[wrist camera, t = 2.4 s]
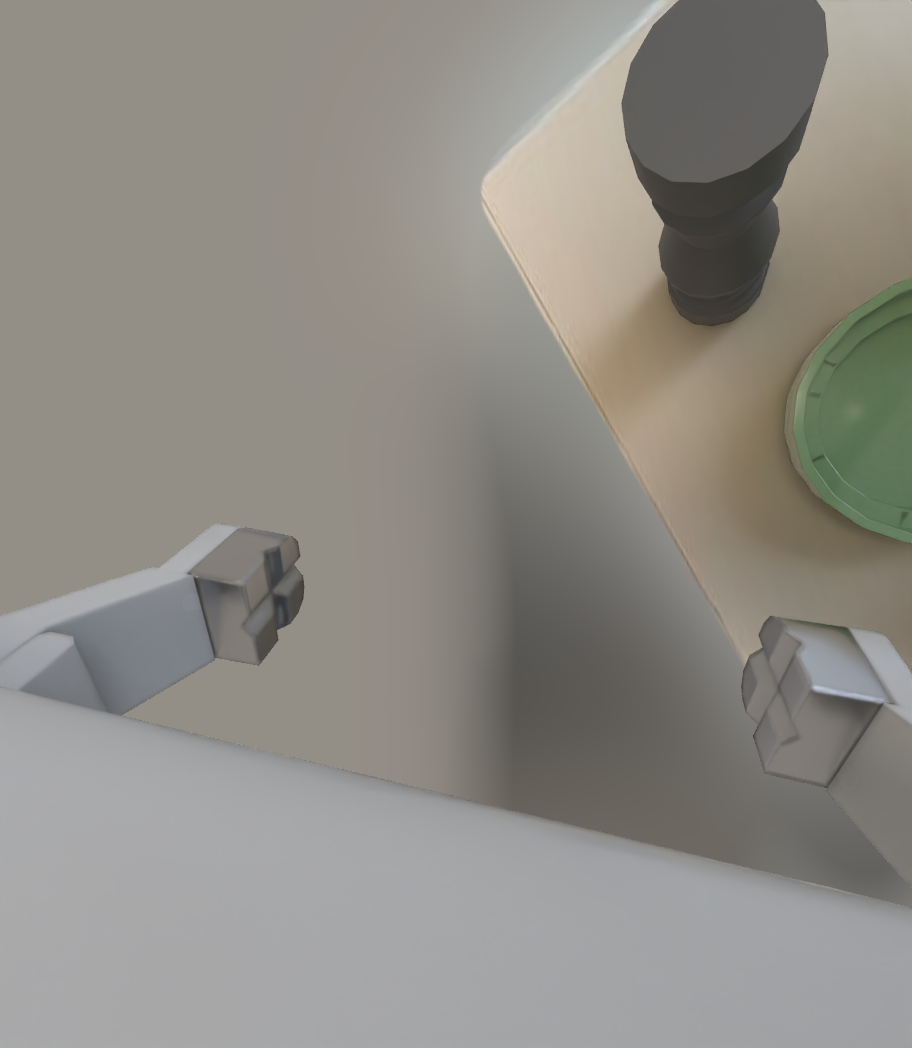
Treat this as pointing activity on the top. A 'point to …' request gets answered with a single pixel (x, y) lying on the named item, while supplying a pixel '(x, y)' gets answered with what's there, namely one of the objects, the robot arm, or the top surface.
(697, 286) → the candle holder
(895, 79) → the top surface
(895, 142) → the top surface
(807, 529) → the top surface
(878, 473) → the bowl
